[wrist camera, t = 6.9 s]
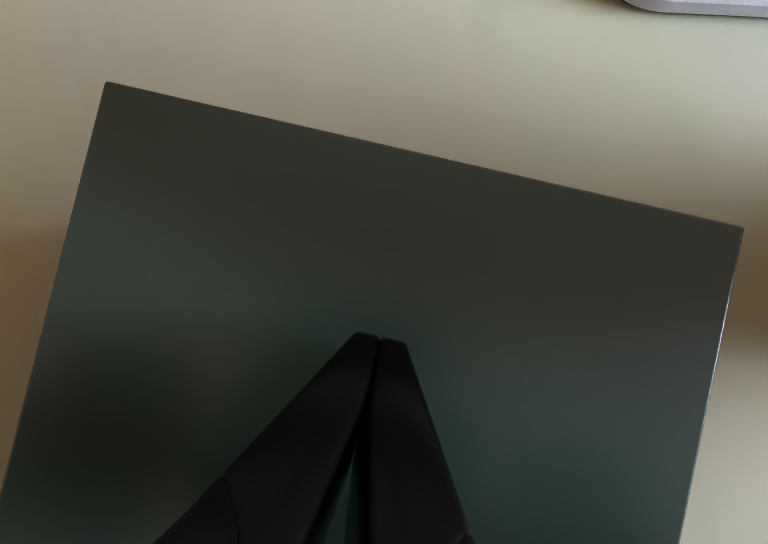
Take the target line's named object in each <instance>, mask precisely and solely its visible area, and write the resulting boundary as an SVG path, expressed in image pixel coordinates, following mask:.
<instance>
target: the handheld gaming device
mask: <svg viewBox="0 0 768 544" xmlns="http://www.w3.org/2000/svg"><path fill="white" fill-rule="evenodd" d="M625 1H626V2H628V3H630V4H632V5H634V6H636V7H639V8H642V9H646V10H650V11H657V12H670V13H690V14H711V15H731V16H752V17H768V0H625Z"/></svg>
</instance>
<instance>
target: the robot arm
mask: <svg viewBox="0 0 768 544" xmlns="http://www.w3.org/2000/svg"><path fill="white" fill-rule="evenodd" d="M379 342H380V343H379ZM355 447H356V448H355ZM354 451H355V452H354ZM353 455H354V458H353ZM352 459H353V463H352ZM351 463H352V469H351V477H350V486H349V496H348V507H347V517H346V527H345V538H344V544H475V542H474V539H473V537H472V535H470V534H469V532H470V528H469V526H468V523H467V520H466V517H465V514H464V511H463V508H462V505H461V502H460V499H459V496H458V493H457V491H456V488H455V485H454V482H453V479H452V476H451V473H450V470H449V467H448V464H447V461H446V458H445V455H444V453H443V450H442V447H441V444H440V441H439V438H438V435H437V432H436V429H435V426H434V423H433V420H432V418H431V415H430V412H429V409H428V406H427V403H426V400H425V397H424V394H423V391H422V388H421V385H420V383H419V380H418V377H417V374H416V371H415V368H414V365H413V362H412V359H411V356H410V353H409V350H408V347H407V345H406V343H404V342H403V341H399V340H395V339H391V338H386V337H383V338H382V339H381V340H380V338H379V337H378V336H377V335H373V334H369V333H365V332H360V331H357V332H355V333H354V334H353V335H352V336H351V337H350V338H349V339H348V340H347V341H346V342H345V343H344V344H343V345H342V346H341V347H340V349H339V350H338V351H337V352H336V353H335V354H334V355H333V356H332V357H331V358H330V359H329V360H328V361H327V362H326V363H325V365H324V366H323V367H322V368H321V369H320V370H319V371H318V372H317V373H316V374H315V375H314V376H313V377H312V378H311V380H310V381H309V382H308V383H307V384H306V385H305V386H304V387H303V388H302V389H301V390H300V391H299V392H298V393H297V394H296V396H295V397H294V398H293V399H292V400H291V401H290V402H289V403H288V404H287V405H286V406H285V407H284V408H283V409H282V411H281V412H280V413H279V414H278V415H277V416H276V417H275V418H274V419H273V420H272V421H271V422H270V423H269V424H268V426H267V427H266V428H265V429H264V430H263V431H262V432H261V433H260V434H259V435H258V436H257V437H256V438H255V439H254V440H253V442H252V443H251V444H250V445H249V446H248V447H247V448H246V449H245V450H244V451H243V452H242V453H241V454H240V455H239V457H238V458H237V459H236V460H235V461H234V462H233V463H232V464H231V465H230V466H229V467H228V468H227V469H226V470H225V471H224V473H223V477H222V476H220V477H219V478H218V479H217V480H216V481H215V482H214V483H213V484H212V485H211V486H210V487H209V488H208V489H207V490H206V491H205V492H204V494H203V495H202V496H201V497H200V498H199V499H198V500H197V501H196V502H195V503H194V504H193V505H192V506H191V507H190V508H189V509H188V510H187V511H186V512H185V513H184V514H183V515H182V516H181V517H180V518H179V519H178V520H177V521H176V522H175V523H174V524H173V525H172V526H171V527H170V528H169V529H168V530H167V531H165V532H164V533H163V534H162V535H161V536H160V537H159V538H158V539H157V540H156V541H154V542H153V543H152V544H323V543H324V540H325V538H326V535H327V532H328V529H329V526H330V524H331V521H332V518H333V515H334V512H335V510H336V507H337V504H338V501H339V498H340V496H341V493H342V490H343V487H344V484H345V482H346V479H347V476H348V473H349V469H350V466H351Z"/></svg>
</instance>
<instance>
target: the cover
mask: <svg viewBox="0 0 768 544" xmlns="http://www.w3.org/2000/svg"><path fill="white" fill-rule="evenodd" d="M743 231H744V228H743V227H741V226H737V225H733V224H728V223H724V222H720V221H715V220H711V219H707V218H702V217H698V216H693V215H689V214H685V213H680V212H676V211H672V210H667V209H663V208H658V207H654V206H650V205H645V204H641V203H637V202H632V201H628V200H624V199H619V198H615V197H610V196H606V195H602V194H597V193H593V192H589V191H584V190H580V189H575V188H571V187H567V186H562V185H558V184H554V183H549V182H545V181H541V180H536V179H532V178H527V177H523V176H519V175H514V174H510V173H506V172H501V171H497V170H492V169H488V168H484V167H479V166H475V165H471V164H466V163H462V162H458V161H453V160H449V159H444V158H440V157H436V156H431V155H427V154H423V153H418V152H414V151H410V150H405V149H401V148H396V147H392V146H388V145H383V144H379V143H375V142H370V141H366V140H361V139H357V138H353V137H348V136H344V135H340V134H335V133H331V132H327V131H322V130H318V129H313V128H309V127H305V126H300V125H296V124H292V123H287V122H283V121H278V120H274V119H270V118H265V117H261V116H257V115H252V114H248V113H244V112H239V111H235V110H230V109H226V108H222V107H217V106H213V105H209V104H204V103H200V102H195V101H191V100H187V99H182V98H178V97H174V96H169V95H165V94H161V93H156V92H152V91H147V90H143V89H139V88H134V87H130V86H126V85H121V84H117V83H113V82H106V83H105V85H104V89H103V93H102V97H101V101H100V105H99V109H98V112H97V116H96V120H95V124H94V128H93V132H92V136H91V140H90V144H89V148H88V152H87V156H86V160H85V163H84V167H83V171H82V175H81V179H80V183H79V187H78V191H77V195H76V199H75V203H74V207H73V211H72V214H71V218H70V222H69V226H68V230H67V234H66V238H65V242H64V246H63V250H62V254H61V258H60V262H59V265H58V269H57V273H56V277H55V281H54V285H53V289H52V293H51V297H50V301H49V305H48V309H47V313H46V316H45V320H44V324H43V328H42V332H41V336H40V340H39V344H38V348H37V352H36V356H35V360H34V364H33V367H32V371H31V375H30V379H29V383H28V387H27V391H26V395H25V399H24V403H23V407H22V411H21V415H20V419H19V422H18V426H17V430H16V434H15V438H14V442H13V446H12V450H11V454H10V458H9V462H8V466H7V470H6V473H5V477H4V481H3V485H2V489H1V493H0V544H152V543H153V542H154V541H156V540H157V539H158V538H159V537H160V536H161V535H162V534H163V533H164V532H165V531H167V530H168V529H169V528H170V527H171V526H172V525H173V524H174V523H175V522H176V521H177V520H178V519H179V518H180V517H181V516H182V515H183V514H184V513H185V512H186V511H187V510H188V509H189V508H190V507H191V506H192V505H193V504H194V503H195V502H196V501H197V500H198V499H199V498H200V497H201V496H202V495H203V494H204V492H205V491H206V490H207V489H208V488H209V487H210V486H211V485H212V484H213V483H214V482H215V481H216V480H217V479H218V478H219V477H220V476H222V477H223V473H224V471H225V470H226V469H227V468H228V467H229V466H230V465H231V464H232V463H233V462H234V461H235V460H236V459H237V458H238V457H239V455H240V454H241V453H242V452H243V451H244V450H245V449H246V448H247V447H248V446H249V445H250V444H251V443H252V442H253V440H254V439H255V438H256V437H257V436H258V435H259V434H260V433H261V432H262V431H263V430H264V429H265V428H266V427H267V426H268V424H269V423H270V422H271V421H272V420H273V419H274V418H275V417H276V416H277V415H278V414H279V413H280V412H281V411H282V409H283V408H284V407H285V406H286V405H287V404H288V403H289V402H290V401H291V400H292V399H293V398H294V397H295V396H296V394H297V393H298V392H299V391H300V390H301V389H302V388H303V387H304V386H305V385H306V384H307V383H308V382H309V381H310V380H311V378H312V377H313V376H314V375H315V374H316V373H317V372H318V371H319V370H320V369H321V368H322V367H323V366H324V365H325V363H326V362H327V361H328V360H329V359H330V358H331V357H332V356H333V355H334V354H335V353H336V352H337V351H338V350H339V349H340V347H341V346H342V345H343V344H344V343H345V342H346V341H347V340H348V339H349V338H350V337H351V336H352V335H353V334H354V333H355V332H357V331H360V332H365V333H369V334H373V335H377V336H378V337H379V338H380V340H381V339H382V338H383V337H386V338H391V339H395V340H399V341H403V342H404V343H406V345H407V347H408V350H409V353H410V356H411V359H412V362H413V365H414V368H415V371H416V374H417V377H418V380H419V383H420V385H421V388H422V391H423V394H424V397H425V400H426V403H427V406H428V409H429V412H430V415H431V418H432V420H433V423H434V426H435V429H436V432H437V435H438V438H439V441H440V444H441V447H442V450H443V453H444V455H445V458H446V461H447V464H448V467H449V470H450V473H451V476H452V479H453V482H454V485H455V488H456V491H457V493H458V496H459V499H460V502H461V505H462V508H463V511H464V514H465V517H466V520H467V523H468V526H469V528H470V532H469V534H470V535H472V537H473V539H474V542H475V544H679V542H680V537H681V533H682V528H683V523H684V518H685V513H686V508H687V503H688V498H689V494H690V489H691V484H692V479H693V474H694V469H695V464H696V460H697V455H698V450H699V445H700V440H701V435H702V430H703V426H704V421H705V416H706V411H707V406H708V401H709V396H710V392H711V387H712V382H713V377H714V372H715V367H716V362H717V358H718V353H719V348H720V343H721V338H722V333H723V328H724V324H725V319H726V314H727V309H728V304H729V299H730V294H731V290H732V285H733V280H734V275H735V270H736V265H737V260H738V256H739V251H740V246H741V241H742V236H743ZM379 343H380V342H379ZM355 448H356V447H355ZM354 452H355V451H354ZM353 458H354V455H353ZM352 463H353V459H352ZM352 463H351V466H350V469H349V473H348V476H347V479H346V482H345V484H344V487H343V490H342V493H341V496H340V498H339V501H338V504H337V507H336V510H335V512H334V515H333V518H332V521H331V524H330V526H329V529H328V532H327V535H326V538H325V540H324V543H323V544H344V538H345V527H346V517H347V507H348V496H349V486H350V477H351V469H352Z"/></svg>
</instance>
